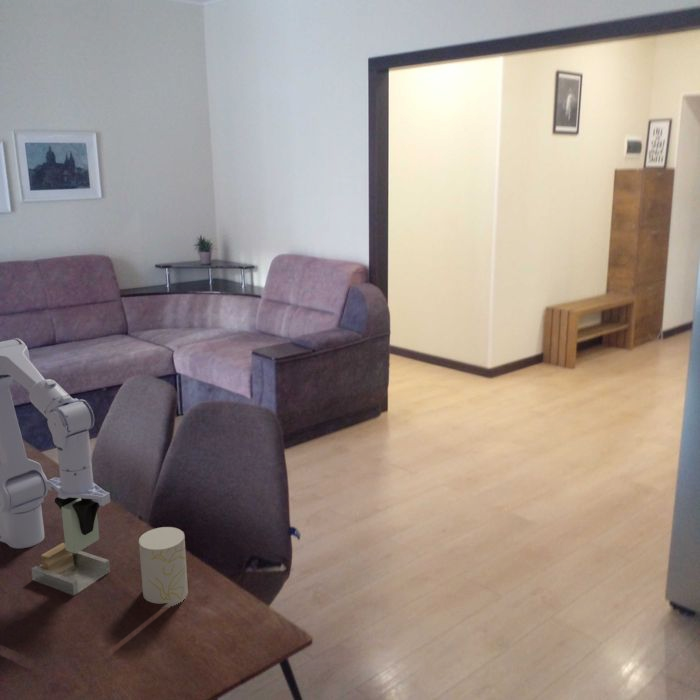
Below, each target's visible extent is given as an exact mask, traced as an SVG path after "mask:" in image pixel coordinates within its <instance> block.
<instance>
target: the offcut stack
mask: <svg viewBox="0 0 700 700" xmlns="http://www.w3.org/2000/svg"><path fill="white" fill-rule="evenodd" d="M40 556H41V564H40V565H39V566H38V567H40V568H43V569H46V570H48V571H51V572H54V573H57V574H60V573H61V572H63V571H65V570H66V569H68V568H69V567H71V566H73V565H74V560H73V554H71V552H69V551H66V548H65V542H62V543H60V544H58V545H56V546H55V547H53V548H51V549H49V550H47V551H46V552H44V553H42V554H41V555H40Z"/></svg>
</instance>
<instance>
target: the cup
mask: <svg viewBox="0 0 700 700" xmlns="http://www.w3.org/2000/svg"><path fill="white" fill-rule="evenodd" d="M185 539H186V537H185V532H184V531H182V530H181V529H179V528H177V527H173V526H162V527H157V528H156V527H155V528H152V529H150V530H148V531H146V532H144V533H143V534H142V535H141V536H140V537H139V539H138V548H139V559H140V562H139V563H140V571H141V573H140V574H141V585H142V586H141V587H142V595H143V598H144V599H145V601H147V602H150V603H153V604H158V605H159V604H160V605H162V604H165V605H163V606H162V607H161V609H166V608H165V607H168V608H171V607H170V606H172V607H175V606H177V605H179V604H181V603H182V602H183V600H184V599H185V600H186V598H187V597H188V595H187V594H189V590H188V588H189V587H188V572H187V571H188V570H187V556H186V541H185ZM186 596H187V597H186ZM185 600H184V601H185ZM180 602H181V603H180ZM178 603H179V604H178ZM176 604H177V605H176ZM174 605H175V606H174Z"/></svg>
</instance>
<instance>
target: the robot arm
mask: <svg viewBox="0 0 700 700" xmlns="http://www.w3.org/2000/svg"><path fill="white" fill-rule="evenodd" d="M13 380H14V381H16V382H17V383H18V384H20V385H21V386H22V387H23V388H24V389H26V390H27V391H28V392H29V395H28V397H29V402H31V404H32V405H33V406H34V407H35V408H36V409H37V410H38V411H39V412H40V413H41V414H42V415H43V416H44V417H45V419H46V420H47V421H46V422H47V426H48V429H49V432H50V433H51V437H52V442H53V444H54V446H55V447H56V452H57V459H58V460H57V461H58V469H59V477H55V476H54V477H52V478H50V479H48V478H47V476H46V474H45V473H44V470H43V467H42V465H41V463H39V462H37V461H36V460H33V459H30V458H28V457H27V451H26V447H25V443H24V441H23V437H22V436H23V435H22V433H21V429H20V425H19V420H18V417H17V413H16V409H15V406H14V401H13V397H12V394H11V390H10V386H11V383H12V381H13ZM94 426H95V415H94V411H93V409H92V407H91V406H90V404H89V403H88V402H87V401H86V400H85V399H78V398H77V397H76V398H73V397H72V396H71V395H70V394H69V393H68V392H67V391H65V389H64V388H62V386H61V385H60V384H59V383H57V381H56V380H54V379H50V378H49V379H48V378H47V379H46V378H44V376H43V375H42V374H41V373H40V371H39V370H38V369H37V368H36V366H35V365H34V364H33V363H32V361H31V359H30V352H29V349H28V346H27V345H26V343H25V342H24V341H23V340H22V339H20V338H18V337H15V338H14V337H13V338H12V339H9V340H4V341H3V340H2V341H0V542H1V543H4V544H7V545H8V546H9V547H10V548H13V549H25V548H31V547H33V546H36V545H38V544H40V543H41V542H42V541H43V540H44V539H45V527H44V519H43V510H42V503H44V502H45V498H44V497H46V496H47V495H48V493H49V491H51V492H52V491H56V492H58V493H57V497H55V498H54V504H56V505H57V507H58V508H59V510H61V507H63V506H65V505H67V504H69V503H71V502H73V501H75V500H77V499H79V498H81V500H80V501H78V502H76V503H74V504H72V507H73V508H74V509H75V511H76V513H77V516H78V519H79V523H80V529H81V532H82V534H83V535H86V534H88V533H90V532H92V531H93V527H94V521H95V517H96V513H97V514H98V511H99V508H100V506H101V507H104V506H106V505H107V504H109V503H111V495H110V492H108V491H106V490H104V489H103V488H101V487H100V486H99V485H97V484H96V483H95V482H94V475H93V465H92V464H93V462H92V454H91V453H92V452H91V442H90V432H89V430H91V429H92V428H94ZM61 512H62V510H61Z"/></svg>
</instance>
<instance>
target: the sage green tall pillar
mask: <svg viewBox="0 0 700 700" xmlns="http://www.w3.org/2000/svg"><path fill="white" fill-rule="evenodd" d="M80 500H81V498H79V499H77V500H75V501H73V502H71V503H69V504H67V505H65V506H63V507H61V509H60V510H62V511H61V518H62V519H61V520H62V525H63V526H62V528H63V535H64V537H63V538H64V543H65V548H66V551H69V552H72V553H77V552H79V551H83V550H84V549H85V548H87V547H89V546H90V545H92V544H94V543H95V542H96V543H97V541H99V540H100V530H99V521H98V512H97V513H96V517H95V521H94V527H93V531H92V532H90V533H88V534H86V535H83V534H82V532H81V529H80V523H79V519H78V516H77V513H76V511H75V509H74V508H73V507H72V504H74V503H76V502H78V501H80Z"/></svg>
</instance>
